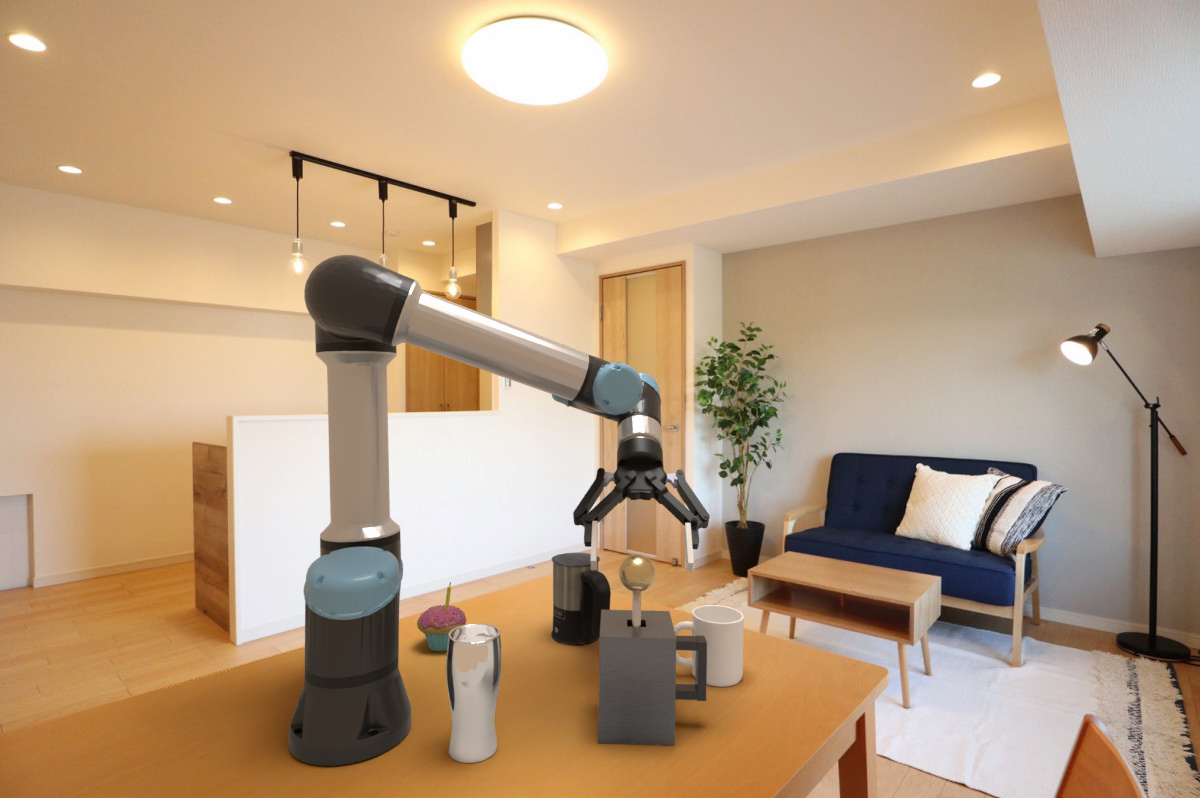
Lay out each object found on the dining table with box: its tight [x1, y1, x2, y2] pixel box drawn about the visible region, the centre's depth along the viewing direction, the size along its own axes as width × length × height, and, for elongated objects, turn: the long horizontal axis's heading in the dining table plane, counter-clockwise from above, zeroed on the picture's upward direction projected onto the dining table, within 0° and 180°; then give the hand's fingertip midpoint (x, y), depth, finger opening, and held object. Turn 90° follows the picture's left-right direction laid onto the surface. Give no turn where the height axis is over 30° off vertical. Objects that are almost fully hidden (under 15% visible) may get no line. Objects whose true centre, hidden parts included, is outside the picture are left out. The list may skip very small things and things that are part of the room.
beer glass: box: [445, 622, 503, 764], centre depth 77 cm, size 7×7×15 cm
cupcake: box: [416, 581, 467, 652], centre depth 109 cm, size 9×8×12 cm
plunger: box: [618, 553, 656, 627], centre depth 84 cm, size 8×8×22 cm
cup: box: [673, 604, 745, 688], centre depth 99 cm, size 8×12×10 cm
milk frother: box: [550, 552, 612, 646], centre depth 115 cm, size 14×16×15 cm
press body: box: [597, 609, 707, 746], centre depth 84 cm, size 15×10×14 cm
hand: (641, 567), depth 85 cm, fingers open, 13 cm apart
